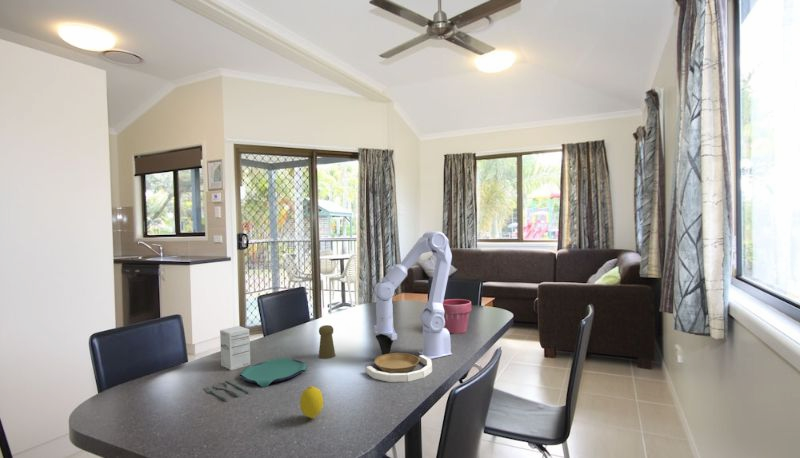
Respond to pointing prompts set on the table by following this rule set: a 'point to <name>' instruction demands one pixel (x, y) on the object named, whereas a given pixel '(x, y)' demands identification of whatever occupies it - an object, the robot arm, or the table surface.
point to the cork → (326, 342)
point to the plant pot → (456, 315)
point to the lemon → (311, 402)
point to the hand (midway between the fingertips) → (385, 355)
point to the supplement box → (235, 347)
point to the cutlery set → (264, 374)
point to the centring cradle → (402, 376)
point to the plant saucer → (396, 362)
